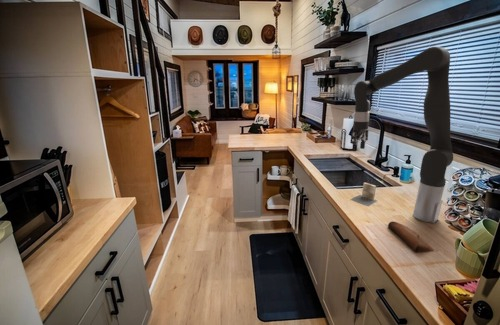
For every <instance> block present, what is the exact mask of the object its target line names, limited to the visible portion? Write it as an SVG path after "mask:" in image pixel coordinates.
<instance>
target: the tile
mask: <svg viewBox="0 0 500 325" xmlns="http://www.w3.org/2000/svg"><path fill="white" fill-rule="evenodd" d="M362 184H363V185H362V193H361V195H362V197H365V198H367V199H370V200H375V194H376V189H377V185H375V184H372V183H369V182H363V183H362Z"/></svg>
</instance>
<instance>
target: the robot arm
mask: <svg viewBox="0 0 500 325" xmlns="http://www.w3.org/2000/svg"><path fill="white" fill-rule="evenodd" d="M450 65H451V54H450V51H449V50H448V49H446V48H445V47H440V46H431V47H428V48H426V49H425V50H422V52H419V53H418V54H417V55H414V57H412V58H409V59H408V60H407V61H404V62H403V63H400V64H399V65H397V66H394V67H392V68H390V69H388V70H385V71H383V72H381V73H378V74H377V75H375V76H374V77H373V78H372V79H369V80H363V81H361V80H360V81H358V82H357V83H356V84H355V86H354V89H353V94H354V101H355V107H354V108H355V111H354V114H353V126H352V129H353V130H355V131H353V132H351V135H350V144H352V149H351V151H353V152H357V151H358V143H359V142H360V147H359V148H360V149H363V150H364V149H365V145H366V142H367V141H368V140H369V123H370V110H371V101H370V100H368V96H369V95H372V94H374V93H376V92H378V91H380V90H382V89H384V88H387V87H390V86H392V85H394V84H396V83H399V82H400V81H402V80H404V79H405V78H407V77H409V76H412V75H414V74H415V75H416V74H417V73H423V72H427V83H428V84H427V89H426V93H425V96H424V100H423V120H424V122H425V125H426V128H427V130H428V134H429V137H430V139H429V140H430V149H429V150H427V151H426V152H425V153H424V154H423V156H422V159H421V164H420V171H419V177H420V180H419V185H418V190H417V194H416V199H415V202H414V203H415V204H414V209H413V212H412V216H413V217H414V218H415V219H417V220H419V221H423V222H424V223H425V222H426V223H431V224H435V223H436V222H437V221H439V220H438V219H439V216H440V213H441V209H442V206H443V205H442V203H443V194H444V190H445V186H446V182H447V180H446V178H445V177H446V172H447V168H448V167H449V166H451V164H452V163H453V161H454V152H453V147H452V139H451V98H450V83H449V78H450V77H449V76H450Z"/></svg>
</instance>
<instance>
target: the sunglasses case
mask: <svg viewBox="0 0 500 325" xmlns="http://www.w3.org/2000/svg"><path fill="white" fill-rule="evenodd" d="M387 227H388V228H389V229H390V230H391V231H393V232H394V233H395V234H397V236H398V237H400V239H402V240H403V241H404V242H405V243H406V244H407V245H408V246H409V247H410V248H411V249H413V251H414V252H415V253H419V254H420V253H431V252H435V250H434V248H433V247H432V246H431V245H430V244H429V243H427V241H426V240H424V239H423V238H422V237H421V236H420V234H419V233H418V232H416V231H415V230H414V229H411V228H410V227H409V226H406V225H404V224H401V223H400V222H397V221H393V220H392V221H390V222H388V224H387Z"/></svg>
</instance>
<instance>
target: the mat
mask: <svg viewBox="0 0 500 325" xmlns="http://www.w3.org/2000/svg"><path fill="white" fill-rule="evenodd" d="M350 201H353V202H355V203H357V204H361V205H363V206H366V207H369V206H371V205H373V204H374V203H377V202H378V199H377V200H376V199H374V200H370V199H367V198H365V197H362V194H358V195H357V196H355V197H353V198H351V199H350Z"/></svg>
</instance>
